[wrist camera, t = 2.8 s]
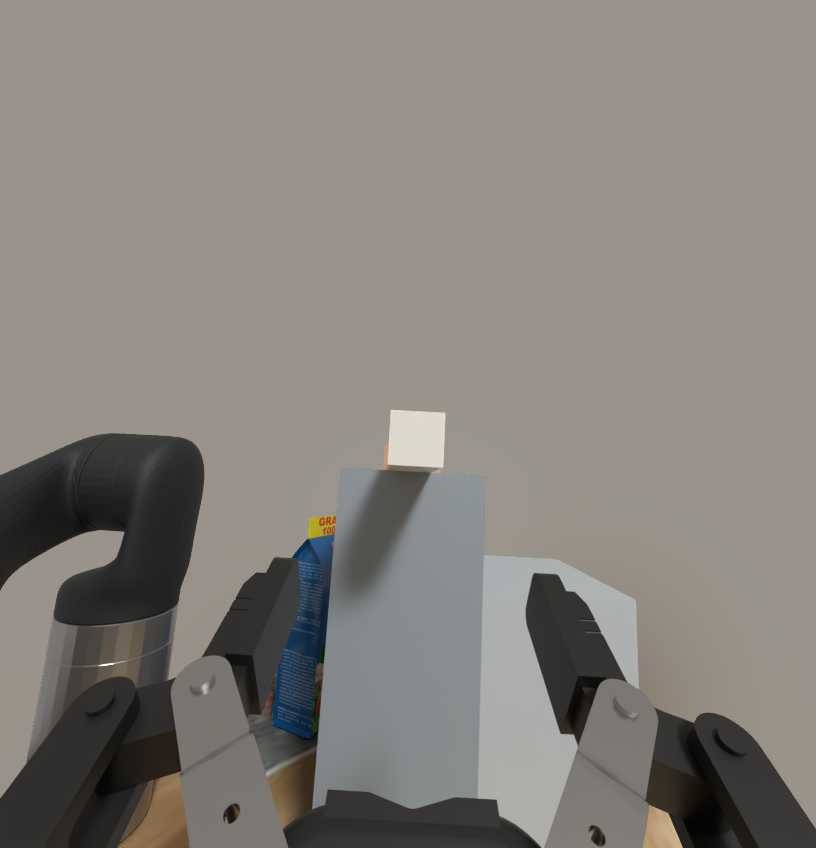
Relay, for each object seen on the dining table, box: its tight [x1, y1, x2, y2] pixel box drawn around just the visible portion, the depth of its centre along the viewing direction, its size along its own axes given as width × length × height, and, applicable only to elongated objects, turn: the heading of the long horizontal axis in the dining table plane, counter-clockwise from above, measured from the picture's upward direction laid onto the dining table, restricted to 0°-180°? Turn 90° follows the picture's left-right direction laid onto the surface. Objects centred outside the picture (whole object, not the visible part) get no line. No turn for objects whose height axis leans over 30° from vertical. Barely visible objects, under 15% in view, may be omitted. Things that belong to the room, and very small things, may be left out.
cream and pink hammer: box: [383, 410, 445, 473], centre depth 33 cm, size 24×6×3 cm, turn 0°
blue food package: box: [271, 515, 336, 739], centre depth 52 cm, size 6×12×25 cm, turn 156°
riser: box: [312, 468, 644, 848], centre depth 37 cm, size 16×24×31 cm, turn 90°
